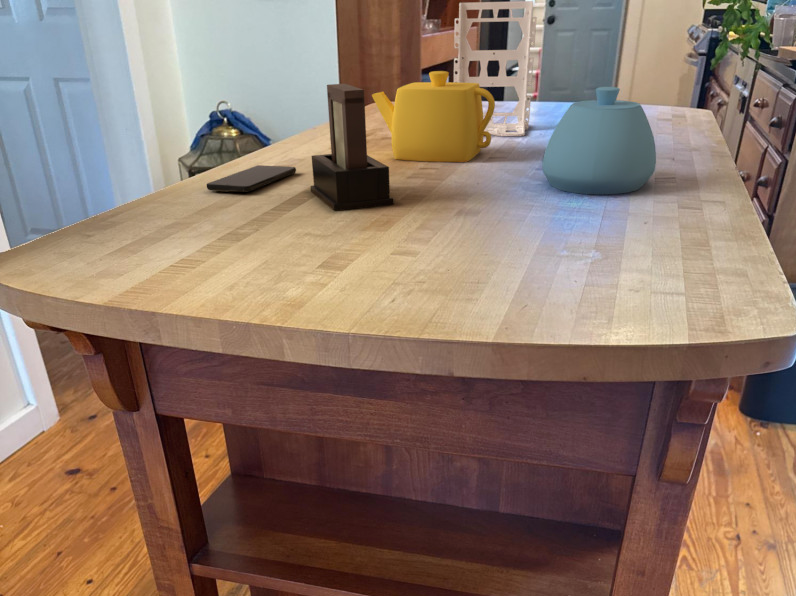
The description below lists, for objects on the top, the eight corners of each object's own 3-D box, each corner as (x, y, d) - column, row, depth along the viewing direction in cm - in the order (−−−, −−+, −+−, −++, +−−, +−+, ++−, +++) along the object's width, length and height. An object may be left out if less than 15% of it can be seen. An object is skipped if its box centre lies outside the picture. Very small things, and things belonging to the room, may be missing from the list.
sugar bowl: (566, 169, 111) (576, 79, 104) (666, 179, 104) (683, 83, 98) (522, 189, 101) (529, 91, 94) (630, 201, 94) (646, 96, 88)
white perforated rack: (449, 136, 137) (451, 3, 125) (454, 125, 148) (457, 2, 136) (528, 136, 136) (538, 1, 124) (528, 125, 147) (537, 0, 135)
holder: (310, 191, 103) (307, 156, 100) (365, 186, 105) (364, 151, 102) (334, 211, 94) (331, 172, 91) (393, 204, 96) (392, 166, 93)
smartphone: (297, 166, 113) (247, 186, 101) (297, 173, 113) (248, 193, 102) (257, 164, 115) (204, 183, 103) (257, 171, 115) (205, 190, 104)
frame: (333, 186, 102) (326, 84, 95) (351, 184, 102) (345, 83, 95) (350, 198, 96) (344, 90, 89) (368, 196, 96) (364, 89, 89)
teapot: (363, 159, 121) (359, 74, 114) (387, 146, 130) (384, 67, 123) (484, 164, 116) (487, 75, 109) (499, 150, 125) (503, 67, 118)
